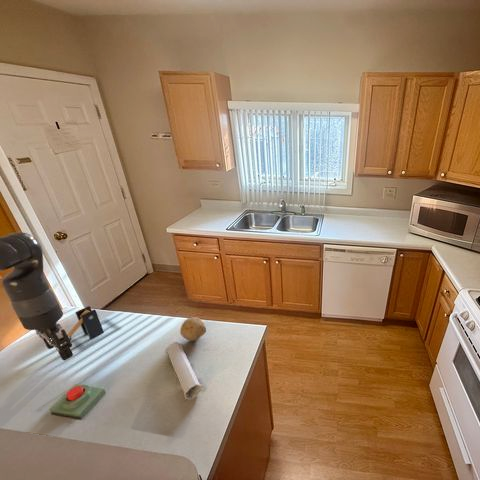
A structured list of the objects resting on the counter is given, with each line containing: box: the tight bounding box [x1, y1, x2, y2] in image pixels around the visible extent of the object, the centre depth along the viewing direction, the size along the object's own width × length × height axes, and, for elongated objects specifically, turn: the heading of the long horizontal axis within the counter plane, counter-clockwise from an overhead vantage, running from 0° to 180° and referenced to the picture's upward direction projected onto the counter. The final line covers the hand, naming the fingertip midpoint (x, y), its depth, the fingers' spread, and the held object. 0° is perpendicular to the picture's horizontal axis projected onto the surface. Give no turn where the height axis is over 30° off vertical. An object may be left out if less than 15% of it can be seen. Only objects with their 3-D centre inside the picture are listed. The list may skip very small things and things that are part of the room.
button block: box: [48, 383, 107, 420], centre depth 78 cm, size 10×8×4 cm
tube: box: [166, 341, 203, 401], centre depth 90 cm, size 5×5×25 cm
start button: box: [65, 386, 84, 401], centre depth 77 cm, size 4×4×2 cm
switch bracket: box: [75, 305, 105, 340], centre depth 100 cm, size 12×10×13 cm
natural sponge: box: [179, 316, 207, 342], centre depth 103 cm, size 9×9×10 cm
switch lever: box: [61, 310, 90, 345], centre depth 96 cm, size 13×3×3 cm
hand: (60, 352), depth 73 cm, fingers open, 8 cm apart
